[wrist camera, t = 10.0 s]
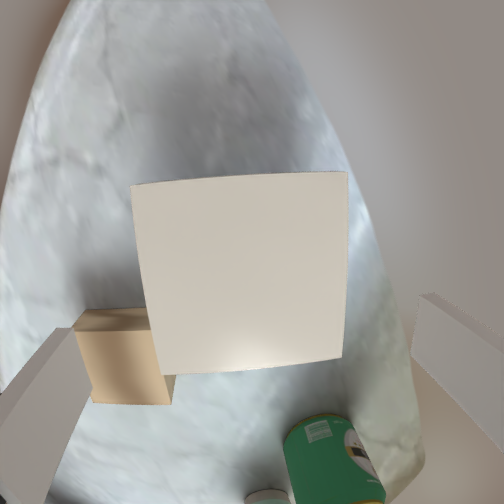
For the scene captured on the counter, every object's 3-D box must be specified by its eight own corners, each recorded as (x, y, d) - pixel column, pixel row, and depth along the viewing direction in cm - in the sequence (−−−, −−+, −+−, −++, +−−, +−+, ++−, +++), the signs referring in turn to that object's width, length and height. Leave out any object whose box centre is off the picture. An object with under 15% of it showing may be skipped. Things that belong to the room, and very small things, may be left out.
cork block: (105, 376, 27) (93, 402, 23) (85, 309, 25) (67, 331, 21) (175, 376, 27) (171, 404, 23) (162, 306, 25) (153, 330, 21)
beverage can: (362, 432, 32) (401, 509, 20) (304, 465, 32) (328, 544, 21) (331, 399, 30) (373, 489, 18) (267, 437, 30) (285, 529, 19)
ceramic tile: (165, 357, 20) (161, 374, 18) (139, 183, 17) (129, 185, 15) (331, 341, 21) (341, 357, 19) (334, 171, 18) (347, 171, 16)
